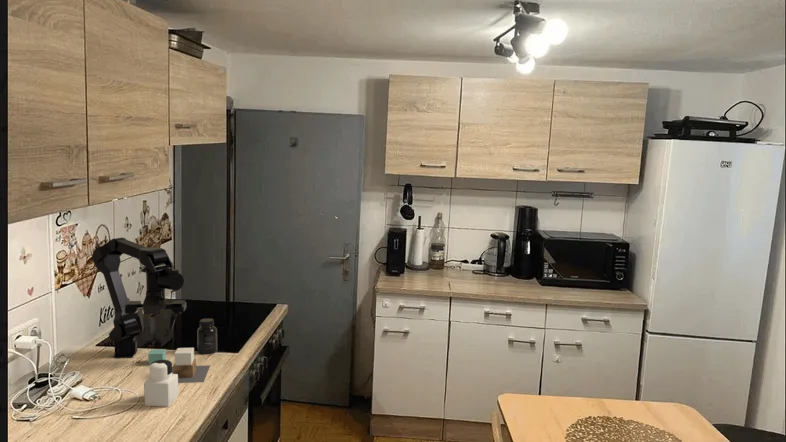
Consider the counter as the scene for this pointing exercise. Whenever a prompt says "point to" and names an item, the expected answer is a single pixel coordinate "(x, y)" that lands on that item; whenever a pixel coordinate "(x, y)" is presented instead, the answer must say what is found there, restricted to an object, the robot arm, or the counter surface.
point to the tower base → (185, 370)
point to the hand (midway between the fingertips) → (156, 331)
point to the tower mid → (184, 356)
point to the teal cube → (156, 355)
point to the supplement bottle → (207, 337)
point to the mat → (196, 375)
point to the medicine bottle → (161, 384)
